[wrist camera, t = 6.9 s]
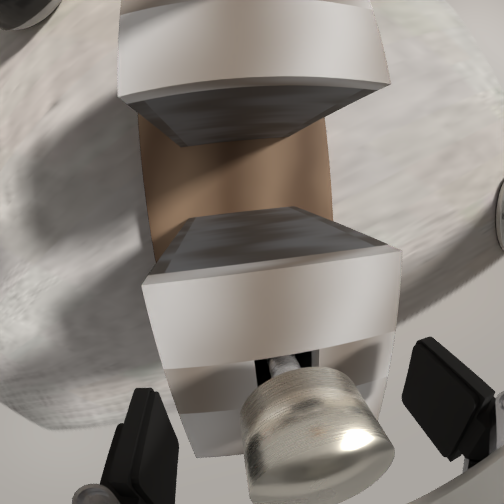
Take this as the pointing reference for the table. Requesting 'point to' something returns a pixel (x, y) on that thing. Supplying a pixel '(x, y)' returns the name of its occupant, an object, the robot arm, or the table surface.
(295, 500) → the ivory plunger
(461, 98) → the table surface
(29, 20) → the pump dispenser
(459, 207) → the table surface
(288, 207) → the press station
